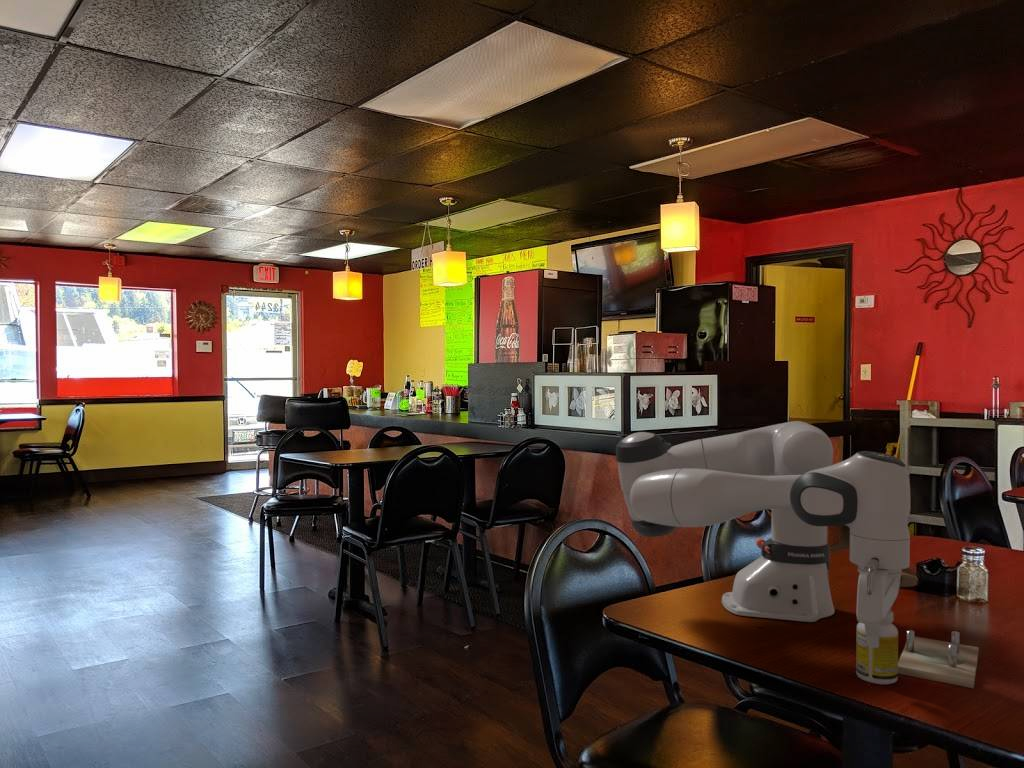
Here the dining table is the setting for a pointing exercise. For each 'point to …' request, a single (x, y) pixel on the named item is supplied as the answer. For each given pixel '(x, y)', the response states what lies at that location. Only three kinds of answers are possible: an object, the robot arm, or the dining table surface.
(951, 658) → the header pins
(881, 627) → the pill bottle
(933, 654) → the light wood flat board
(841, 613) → the dining table surface
